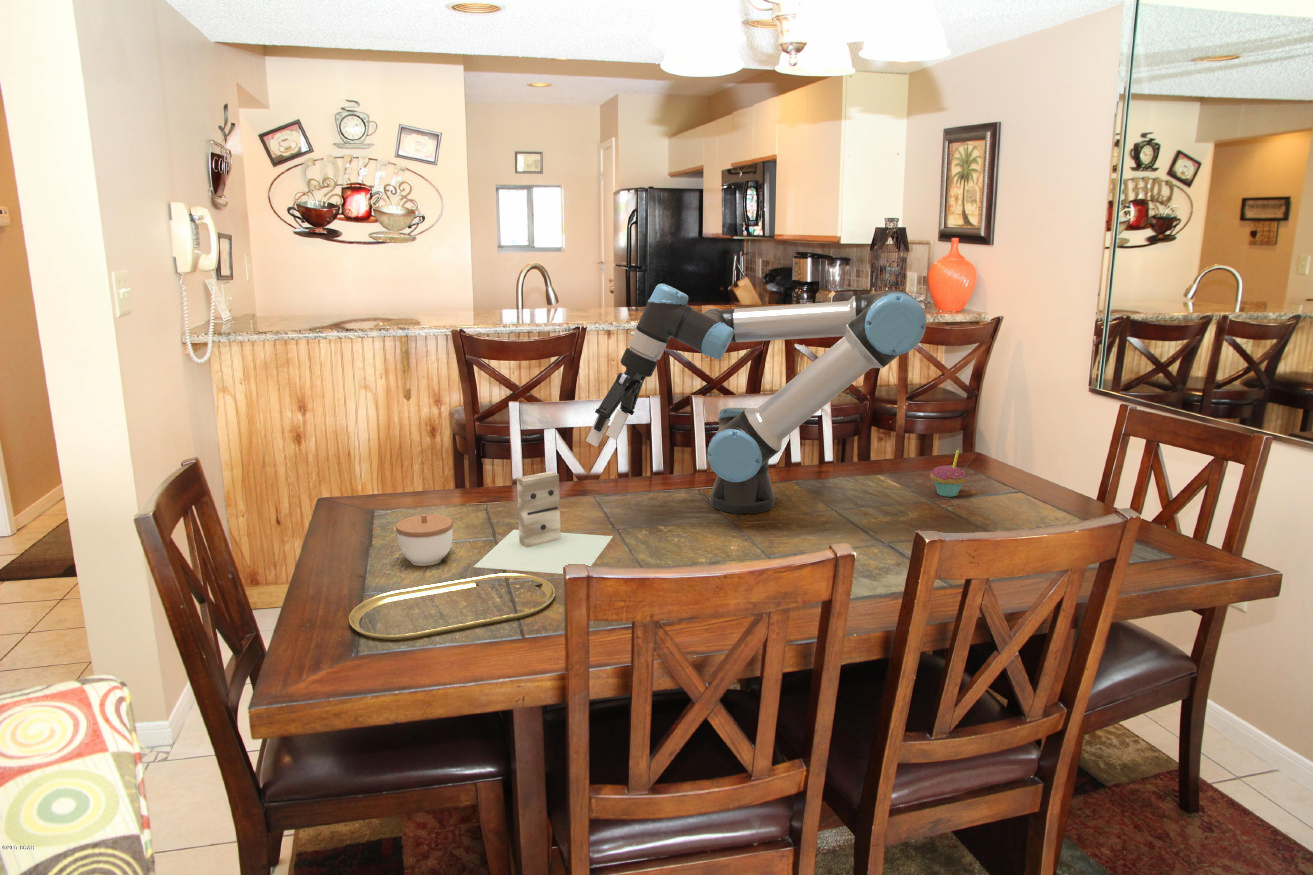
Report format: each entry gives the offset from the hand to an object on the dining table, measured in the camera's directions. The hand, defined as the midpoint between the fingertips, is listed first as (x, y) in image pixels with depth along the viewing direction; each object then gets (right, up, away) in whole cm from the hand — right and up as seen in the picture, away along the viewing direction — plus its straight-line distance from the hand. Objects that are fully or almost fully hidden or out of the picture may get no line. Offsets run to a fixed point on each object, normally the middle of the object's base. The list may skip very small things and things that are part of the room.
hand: (601, 440), depth 197 cm
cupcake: (+83, -13, +21) cm, 87 cm away
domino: (-12, -21, -12) cm, 27 cm away
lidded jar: (-33, -24, -21) cm, 46 cm away
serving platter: (-22, -29, -43) cm, 57 cm away
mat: (-10, -23, -18) cm, 30 cm away
